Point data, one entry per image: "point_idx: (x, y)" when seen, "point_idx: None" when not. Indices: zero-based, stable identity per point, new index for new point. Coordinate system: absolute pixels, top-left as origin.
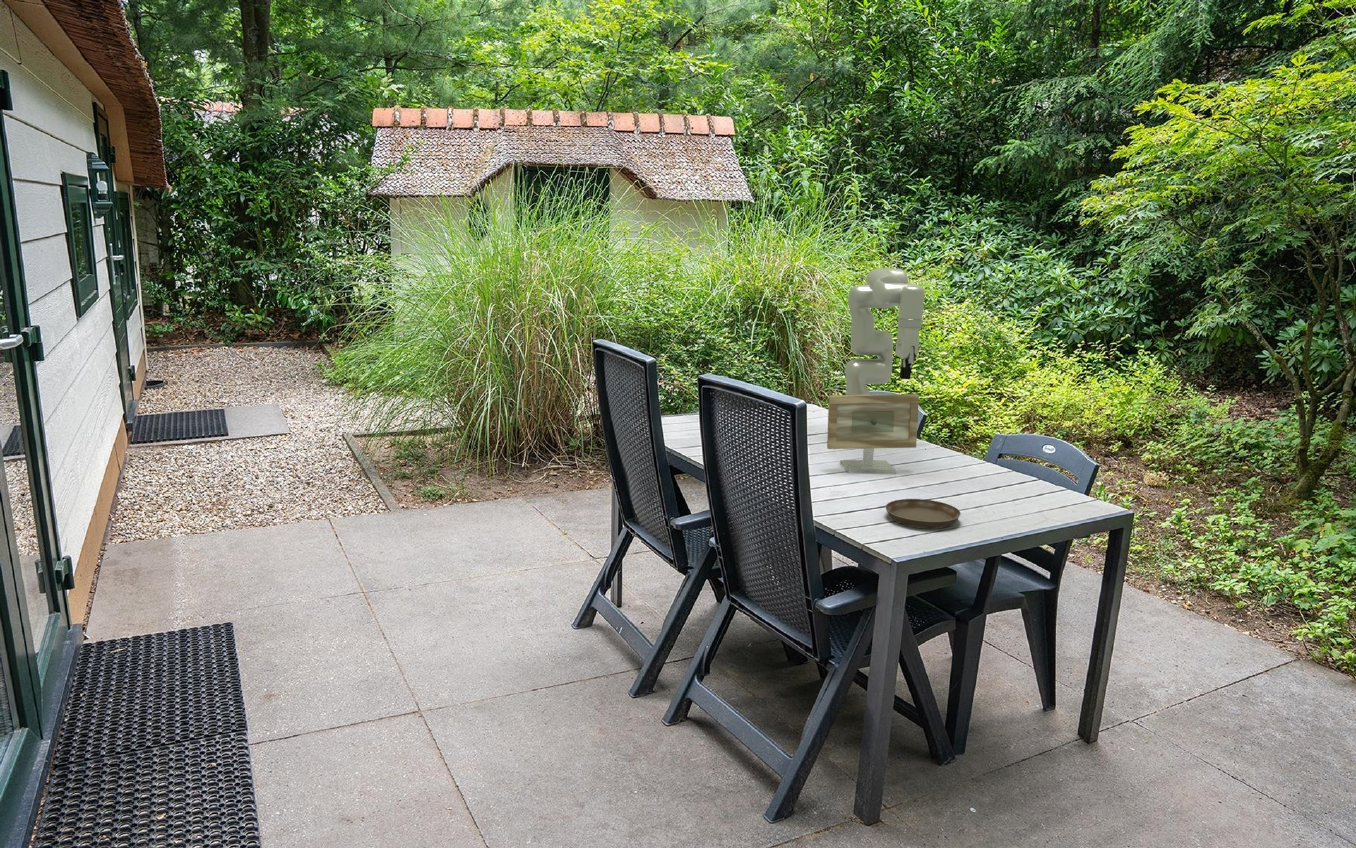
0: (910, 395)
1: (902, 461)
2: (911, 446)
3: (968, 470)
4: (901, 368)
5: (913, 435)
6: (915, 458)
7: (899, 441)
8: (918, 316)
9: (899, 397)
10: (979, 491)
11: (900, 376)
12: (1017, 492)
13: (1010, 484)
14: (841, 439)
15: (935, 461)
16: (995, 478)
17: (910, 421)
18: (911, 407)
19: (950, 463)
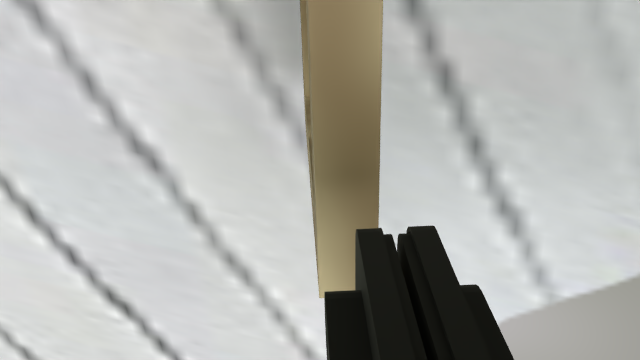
0: (316, 225)
1: (479, 79)
2: (304, 100)
3: None
4: (407, 346)
5: (306, 128)
6: (524, 146)
7: (302, 38)
8: None
9: (311, 109)
10: (53, 243)
11: (415, 241)
12: (78, 344)
13: (173, 350)
14: None
15: (470, 209)
16: (242, 331)
17: (308, 138)
18: (312, 184)
19: None
